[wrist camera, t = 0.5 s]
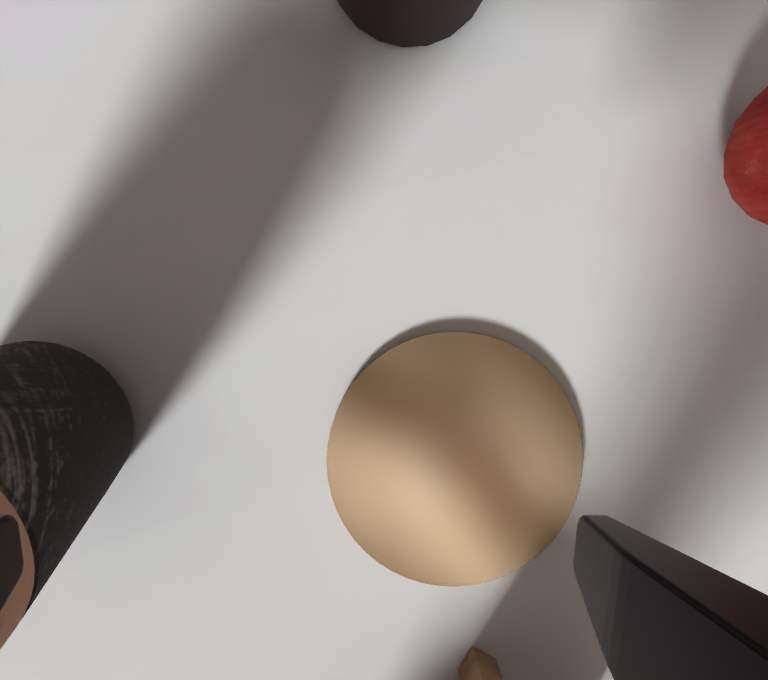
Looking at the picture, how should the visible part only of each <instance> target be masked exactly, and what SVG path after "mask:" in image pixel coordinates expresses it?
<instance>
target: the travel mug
mask: <svg viewBox="0 0 768 680" xmlns="http://www.w3.org/2000/svg"><path fill="white" fill-rule="evenodd" d="M132 439H133V418H132V413H131V409H130V406H129V403H128V400H127V398H126V396H125V394H124V392H123V390H122V389H121V387H120V386H119V384H118V383H117V382H116V380H115V379H114V378H113V377H112V376H111V375H110V373H109V372H107V371H106V370H105V369H104V368H103V367H102V366H101V365H100V364H98V363H97V362H95V361H94V360H93V359H91V358H90V357H88V356H86V355H84V354H82V353H80V352H78V351H76V350H74V349H71V348H69V347H65V346H62V345H59V344H54V343H48V342H38V341H25V342H15V343H10V344H5V345H2V346H0V515H12V516H14V517H15V518H16V519H17V521H18V524H19V529H20V536H21V543H22V550H23V557H24V567H23V572H22V574H21V577H20V579H19V581H18V583H17V584H16V586H15V588H14V589H13V591H12V593H11V595H10V596H9V598H8V600H7V601H6V603H5V605H4V606H3V608H2V610H1V612H0V649H1V648H2V646H3V645H4V643H5V642H6V641H7V639H8V638H9V637H10V635H11V634H12V632H13V631H14V630H15V628H16V627H17V625H18V623H19V622H20V620H21V619H22V618H23V617H24V615H25V614H26V612H27V611H28V609H29V608H30V606H31V605H32V603H33V601H34V600H35V598H36V597H37V595H38V594H39V592H40V591H41V589H42V588H43V586H44V585H45V583H46V582H47V580H48V579H49V577H50V576H51V574H52V573H53V571H54V570H55V568H56V567H57V565H58V564H59V562H60V561H61V559H62V558H63V556H64V555H65V553H66V552H67V550H68V549H69V547H70V546H71V544H72V543H73V541H74V540H75V538H76V537H77V535H78V534H79V532H80V531H81V529H82V528H83V526H84V525H85V523H86V522H87V520H88V519H89V517H90V516H91V514H92V513H93V511H94V510H95V508H96V507H97V505H98V504H99V502H100V501H101V499H102V498H103V496H104V495H105V493H106V492H107V490H108V488H109V487H110V485H111V484H112V482H113V481H114V479H115V477H116V476H117V474H118V473H119V471H120V470H121V468H122V466H123V465H124V463H125V461H126V459H127V456H128V454H129V452H130V448H131V444H132Z"/></svg>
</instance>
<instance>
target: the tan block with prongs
mask: <svg viewBox="0 0 768 680" xmlns="http://www.w3.org/2000/svg"><path fill="white" fill-rule="evenodd" d="M459 673H460V677H461V680H503V679H502V676H501V674H500V671H499V668H498V665H497V663H496V660H495V659H494V658H493V657H491V656H489V655H487V654H485V653H483V652H482V651H480V650H478V649H476V648H474V647H471V649H470V651H469V652H468V654H467V656H466V657H465V659H464V661H463V663H462V664H461V666H460V668H459Z"/></svg>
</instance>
